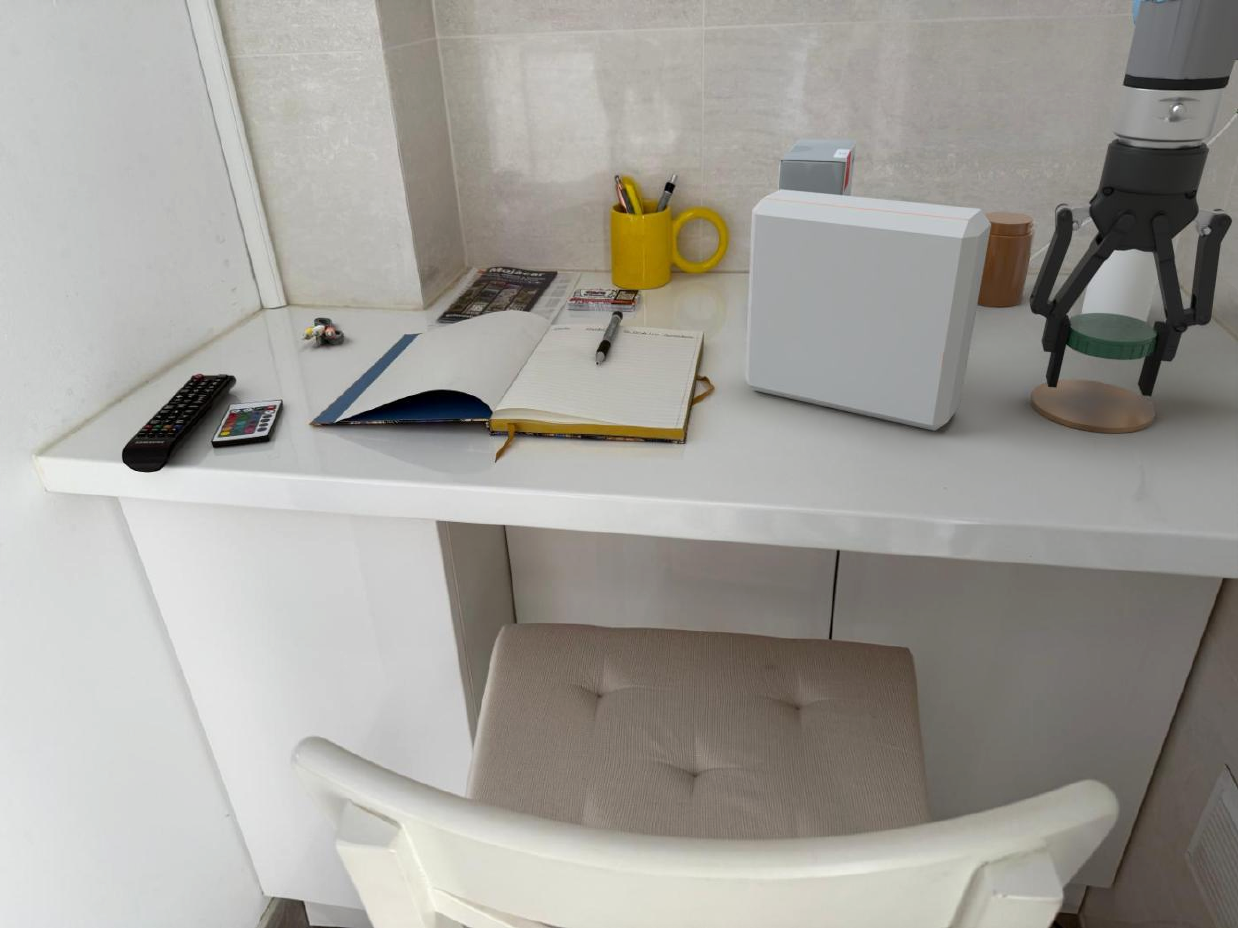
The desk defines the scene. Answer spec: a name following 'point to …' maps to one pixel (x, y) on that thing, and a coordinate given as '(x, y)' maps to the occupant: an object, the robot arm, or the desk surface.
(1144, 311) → the cylindrical container
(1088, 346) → the jar lid
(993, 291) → the brown lidded jar
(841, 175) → the hard drive box
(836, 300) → the bevelled white case
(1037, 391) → the coaster
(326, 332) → the composite cable
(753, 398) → the desk surface
